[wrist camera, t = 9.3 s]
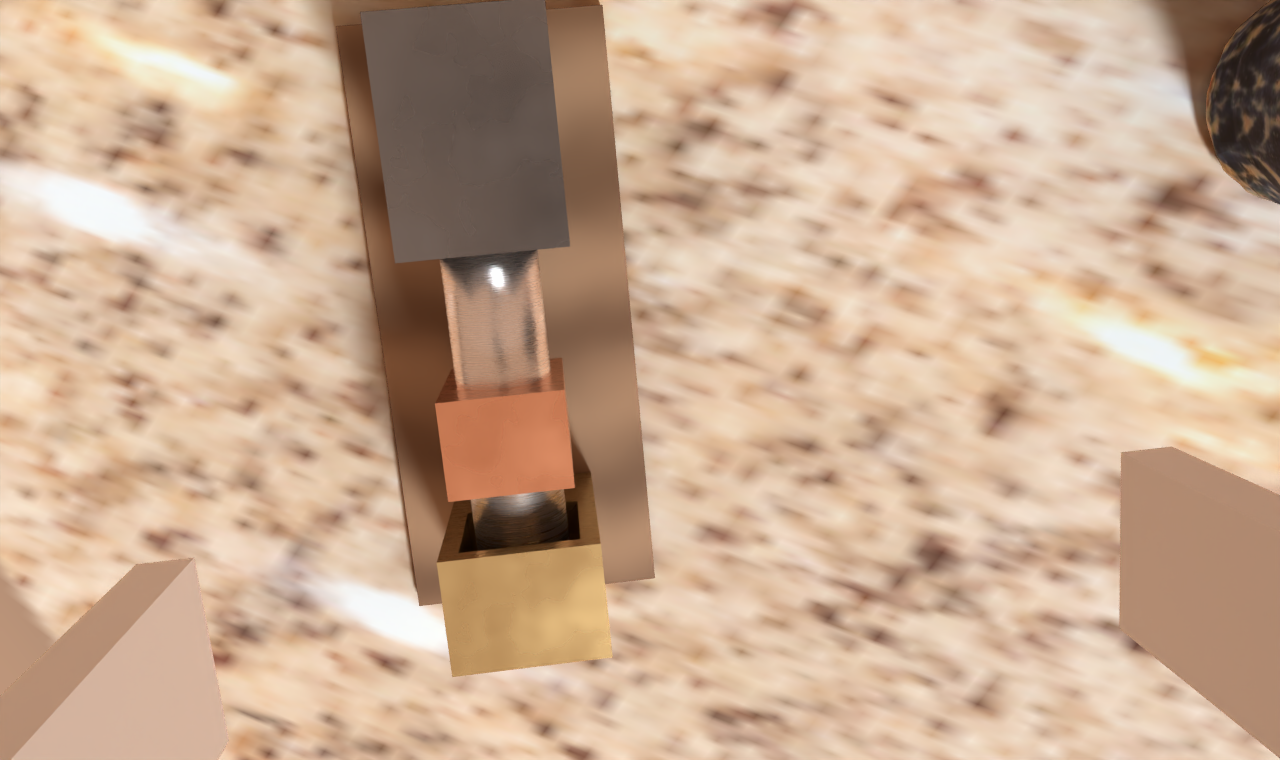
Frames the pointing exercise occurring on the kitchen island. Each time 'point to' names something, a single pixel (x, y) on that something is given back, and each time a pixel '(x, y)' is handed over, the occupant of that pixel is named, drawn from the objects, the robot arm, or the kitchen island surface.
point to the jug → (1249, 105)
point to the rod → (504, 403)
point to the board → (573, 303)
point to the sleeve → (467, 128)
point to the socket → (525, 594)
